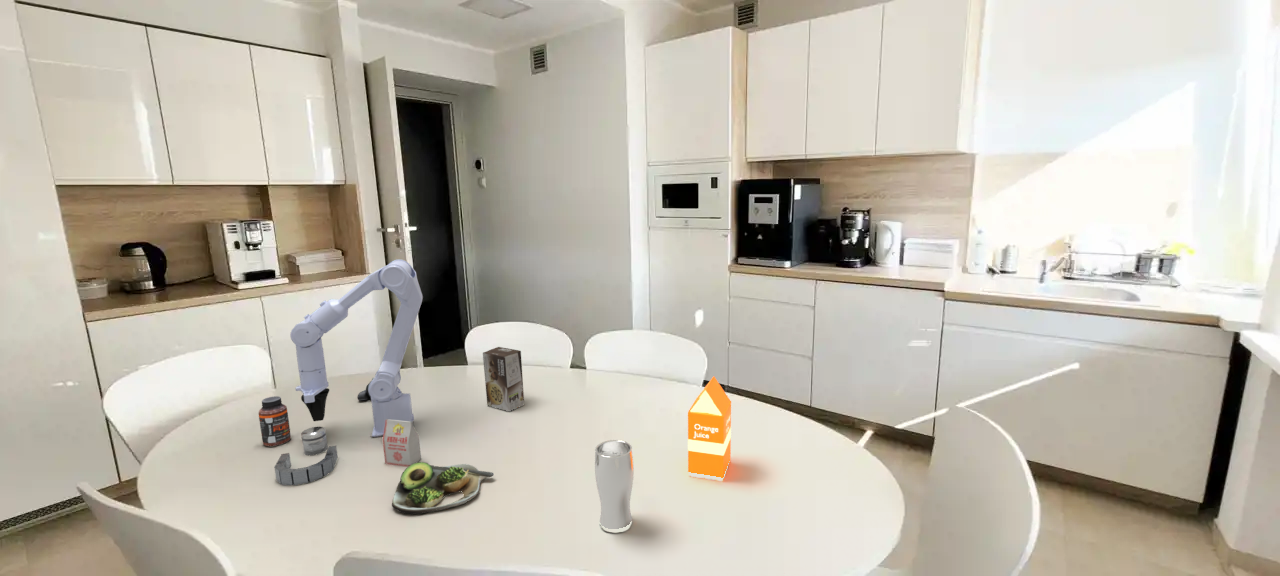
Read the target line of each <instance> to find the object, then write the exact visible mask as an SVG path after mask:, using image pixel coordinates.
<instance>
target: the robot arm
mask: <svg viewBox="0 0 1280 576" xmlns="http://www.w3.org/2000/svg"><path fill="white" fill-rule="evenodd" d="M384 289H388V290H389V291H390V292H392V293H393V294H394V295H395V297H396V298H397V300H398V301H399V302H400V305H399V308H398V311H397V314H396V318H395V320H394V323H393V326H392V330H391V333H390V335H389V339H388V342H387V345H386V347H385V351H384V354H383V357H382V361H381V363H380V366H379V368H378V370H377V371H376V373H375V375H374V377H373V378H374V379H373V380H372V379H371V380H370V381H369V383H370V384H369V383H368V384H369V387H368V392H369V394H370V396H371V398H370V401H371V409H372V419H373V428H372V429H373V430H372V433H371V437H373V438H375V437H381V436H382V437H383V434H384V429H385V420H387V419H391V420H401V421H410V422H412V423H413V424H414V420H415V417H414V413H413V405H412V404H413V403H412V397H411V393H409V392H408V393H405V392H404V393H403V392H402V390H401V388H400V387H399V384H400V382H401V380H402V376H401V367H402V364H403V360H404V357H405V353H406V351H407V347H408V344H409V341H410V339H411V336H412V332H413V329H414V327H415V323H416V320H417V317H418V314H419V313H420V308H421V305H422V302H423V298H424V296H423V293H422V290H421V287H420V284H419V281H418V276H417V271H416V270H415V269H414V268H413V267H412V265H411V264H410V263H409V262H408V261H406V260H404V259H395V260H392V261H390V262H389V263H388V264H387V265H384V266H382V267H380V268H378V269H377V270H375V271H373V272H371V273H370V274H369V275H367V276H366V277H364V278H363V279H362V280H361V281H360V282H358V283H357V284H356V285H355V286H353V287H352V288H351V289H350V290H349V291H348V292H346V293H345V294H344V295H343V296H341V297H340V298H339V299H338V298H337V299H336V298H335V299H334V298H331V299H328V300H323V301H322V302H320V303H319V306H320V307H318V308H317V309H315V311H313V312H312V313H311V314H309V313H308V314H306V315H305V316H304V317H303V318H304V320H302V321H300V322H298V323H296V324H295V326H294V327H293V328H292V329H291V332H290V340H291V341H292V342H293V344H294V345H295V349H296V350H295V351H296V361H297V367H298V368H297V369H298V374H299V382H300V385H296V386H295V391H296V392H298V391H299V392H301V394H302V395H301V397H300V400H301V402H302V403H303V404H304V405H305V406H306V408H307V409H308V412H309V414H310V417H311V418H312V421H313V422H320V421H324V418H325V412H326V404H327V400H328V399H327V398H328V395H329V392H330V388H329V382H328V377H327V376H328V375H327V368H326V362H325V361H326V360H325V354H324V353H325V352H324V347H323V341H322V340H323V339H322V337H323V336H324V334H327V333H328V332H330V331H331V330H332V329H333V328H335V327H336V326H337V325H339V324H340V323H342V321H344V320H345V319H346V318H347V317H348V315H349V309H350V308H351V307H352V306H354V305H355V304H358V302H359V301H361V300H362V299H364V297H366V296H368V295H369V294H370V293H371V292H373V291H383V290H384Z"/></svg>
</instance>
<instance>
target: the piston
mask: <svg viewBox="0 0 1280 576" xmlns="http://www.w3.org/2000/svg"><path fill="white" fill-rule="evenodd" d="M326 431H327V430H326V427H324V426H313V427H309V428H306V429H304V430H303V431H302V432H301V433H300V434H301V441H302V450H303V455H305V456H309V455H310V456H316V454H317V455H320V454H323V453H325V452H327V450H328V448H329V445H328V438H327V432H326Z"/></svg>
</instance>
